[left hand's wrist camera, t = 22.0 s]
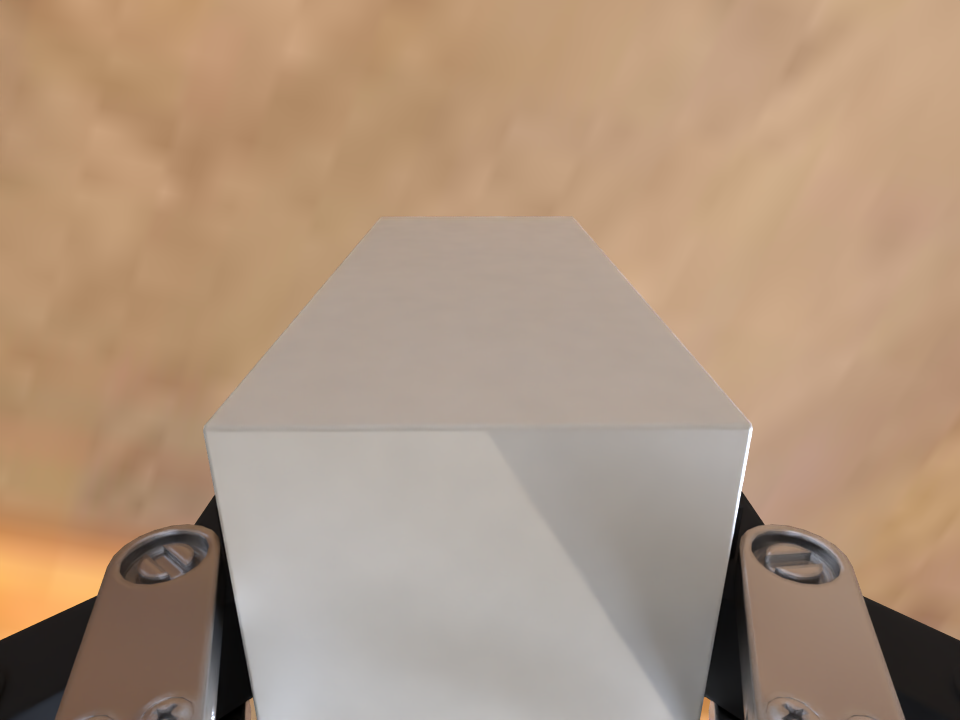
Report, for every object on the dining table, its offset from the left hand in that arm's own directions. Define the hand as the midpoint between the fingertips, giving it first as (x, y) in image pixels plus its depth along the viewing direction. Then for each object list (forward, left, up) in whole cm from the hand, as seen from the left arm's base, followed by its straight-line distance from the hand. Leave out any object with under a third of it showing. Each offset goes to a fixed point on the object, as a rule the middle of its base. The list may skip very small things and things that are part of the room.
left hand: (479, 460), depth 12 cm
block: (0, 0, -7) cm, 7 cm away
